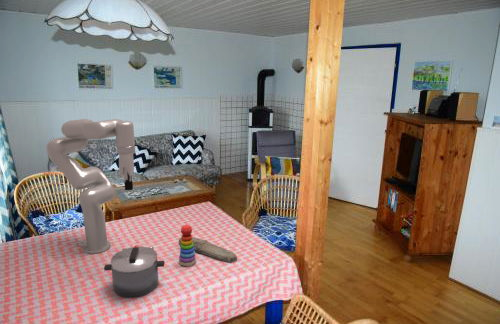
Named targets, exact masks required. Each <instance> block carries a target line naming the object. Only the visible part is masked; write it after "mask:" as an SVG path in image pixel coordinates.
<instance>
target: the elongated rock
mask: <svg viewBox="0 0 500 324" xmlns="http://www.w3.org/2000/svg"><path fill="white" fill-rule="evenodd" d="M192 240H193V244H194V245H193V246H194V251H195V253H199V254H202V255H203V254H204V255H205V256H207V257H211V258H214V259H216V260H218V261H222V262H224V263H225V262H226V263H234V262H236V261H237V260H238V258H237V257H238V256H237V254H236V253H234V252H233V251H231V250H228V249H226V248H224V247H221V246H218V245H215V244H214V243H211V242H209V241H208V240H206V239H201V238H199V237H192ZM178 243H179V245H181V237H180V238H179V240H178Z"/></svg>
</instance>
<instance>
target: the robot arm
mask: <svg viewBox="0 0 500 324" xmlns="http://www.w3.org/2000/svg"><path fill="white" fill-rule="evenodd" d="M134 129H135V128H134V123H133V122H132V121H129V120H121V119H117V118H114V119H113V118H112V119H105V120H100V121H99V120H98V121H93V120H91V119H87V118H81V119H73V120H69V121H66V122H64V123H63V124H62V126H61V129H60V131H61V134H62V135H63V136H61V137H56V138H53V139H51V140H50V141H48V142H47V145H46V153H47V156H48V158H49V160H50V161H51V162H52V163H53V165H55V166H56V167H57V168H58V169H59V170H60V172H61V173H62V174H63V176H64V177H65V178H66V180H67V181H68V183H69V184H70V185H71V187H72V188H73V189H74V190H77V191H80V190H82V191H81V192H80V193H79V195H78V202H79V204H80V207H81V211H82V216H83V217H82V218H83V223H84V233H85V239H83V240H80V239H79V240H77V245H78V246H79V247H83V251H84V252H85V253H86V254H91V255H92V254H94V255H95V254H101V253H103V252H106V251H108V250H109V249H110V248H111V246H112V244H111V242H110V241H109V240H108V236H107V227H106V226H107V225H106V216H105V212H104V211H103V209H102V208H101V205H104V204H105V203H106V204H107V203H109V202H111V201H112V200H114V199H115V197H116V196H117V195H116V189H115V187H114V186H113V184H112V183H111V182H110V180H109V179H108V177H107V176H106V174H105V173H104V172H103V170H101V169H100V168H99V167H96V166H88V167H85V168H84V167H82V165H81V164H80V163H79V162H78V161H77V160H76V159H75V158H74V157H72V156H70V155H69V154H72V153H78V152H81V151H83V150H84V149H85V148H86V146H87V145H88V143H89V142H90V140H103V139H104V140H105V139H108V138H115V141H116V143H115V144H116V153H117V155H118V172H119V173H118V174H119V177H120V178H122V177H123V179H124V190H125V191H133V189H134V182H133V174H134V172H135V161H134V159H135V158H134V154H135V153H136V144H135V130H134Z"/></svg>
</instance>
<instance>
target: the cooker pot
mask: <svg viewBox="0 0 500 324" xmlns="http://www.w3.org/2000/svg"><path fill="white" fill-rule="evenodd" d="M148 248H151V249H153V250H155V249H154V246H149V247H148ZM121 249H122V250H124V249H127V248H121ZM122 250H121V251H122ZM161 267H162V268H163V267H164V268H165V260H157V261H156V263H155V264H154V265H153V266H151V267H150V268H148V269H146V270H143V271H140V272H135V273H121V272H118V271H115V270H114V269H113V268H112V267H111V263H109V264H108V263H107V264H104V268H103V270H104V272H105V271H106V272H107V271H111V277H112V286H113V287H112V289H113V292H114V294H115V295H116V296H119V297H120V298H124V299H135V298H140V297H141V298H142V297H144V296H146V295H149V294H150V293H152V292H154V291H155V290H156V288H157V287H158V286H159V282H160V281H159V268H161Z"/></svg>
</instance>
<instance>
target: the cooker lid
mask: <svg viewBox="0 0 500 324" xmlns="http://www.w3.org/2000/svg"><path fill="white" fill-rule="evenodd" d="M123 249H124V250H120V251H118V252H116V253H115V254H113V256H111V259H110V264H111V267H112V268H113V269H114V270H115V271H118V272H121V273H135V272H140V271H143V270H146V269H148V268H150V267H151V266H153V265H154V264H155V263H156V261H158V253H157V252H156V250H155V249H151V248H149V247H147V246H139V245H138V244H137V245H136V244H135V245H134V246H132V247H128V248H127V249H126V248H123Z"/></svg>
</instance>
